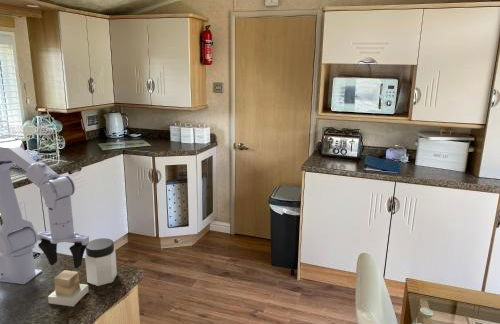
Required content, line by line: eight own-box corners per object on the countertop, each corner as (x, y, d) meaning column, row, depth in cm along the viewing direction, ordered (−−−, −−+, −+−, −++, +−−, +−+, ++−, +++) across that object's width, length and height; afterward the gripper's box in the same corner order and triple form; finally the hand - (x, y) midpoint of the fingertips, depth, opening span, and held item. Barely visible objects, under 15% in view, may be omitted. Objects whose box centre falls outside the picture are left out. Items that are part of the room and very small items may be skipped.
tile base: (48, 303, 105) (47, 296, 104) (65, 288, 112) (64, 281, 112) (73, 306, 104) (72, 299, 103) (88, 291, 111) (87, 284, 111)
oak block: (66, 285, 110) (64, 270, 109) (79, 287, 109) (78, 271, 108) (55, 294, 106) (53, 278, 104) (70, 296, 105) (68, 280, 104)
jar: (90, 289, 112) (86, 252, 109) (84, 276, 119) (81, 242, 116) (120, 280, 117) (118, 245, 114) (113, 269, 124) (111, 235, 121)
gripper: (26, 223, 100) (32, 269, 103) (76, 228, 97) (80, 275, 101) (45, 214, 106) (49, 257, 110) (91, 218, 104) (95, 262, 107)
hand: (65, 264), depth 106 cm, fingers open, 7 cm apart
